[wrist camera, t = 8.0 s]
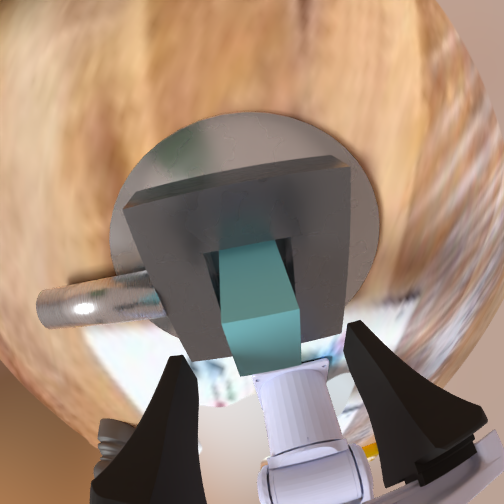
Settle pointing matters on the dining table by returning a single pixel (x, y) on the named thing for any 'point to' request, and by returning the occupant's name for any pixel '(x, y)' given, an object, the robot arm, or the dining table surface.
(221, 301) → the teal rectangular prism
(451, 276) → the dining table surface
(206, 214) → the rosette bracket
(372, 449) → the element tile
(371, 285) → the dining table surface
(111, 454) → the candle holder
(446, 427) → the robot arm
